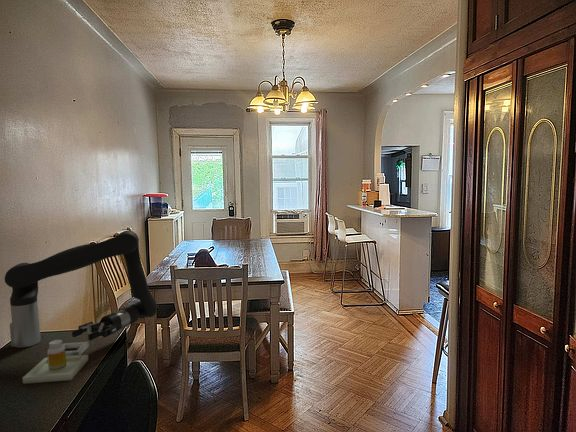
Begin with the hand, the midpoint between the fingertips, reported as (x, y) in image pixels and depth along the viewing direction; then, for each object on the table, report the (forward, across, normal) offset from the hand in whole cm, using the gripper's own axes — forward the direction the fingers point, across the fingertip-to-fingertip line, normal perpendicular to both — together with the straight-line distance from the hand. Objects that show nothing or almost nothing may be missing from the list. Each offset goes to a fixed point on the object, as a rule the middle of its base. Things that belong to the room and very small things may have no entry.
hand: (80, 336), depth 146 cm
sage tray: (+10, 0, +9) cm, 13 cm away
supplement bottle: (+10, 0, +8) cm, 13 cm away
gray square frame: (-3, -10, +9) cm, 13 cm away
